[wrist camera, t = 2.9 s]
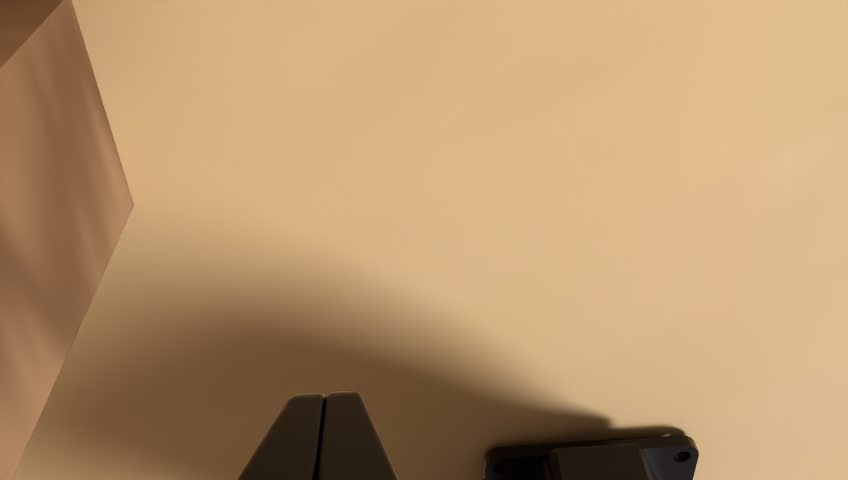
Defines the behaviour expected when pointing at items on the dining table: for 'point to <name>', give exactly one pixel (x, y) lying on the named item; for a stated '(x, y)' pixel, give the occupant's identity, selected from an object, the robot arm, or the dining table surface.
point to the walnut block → (48, 206)
